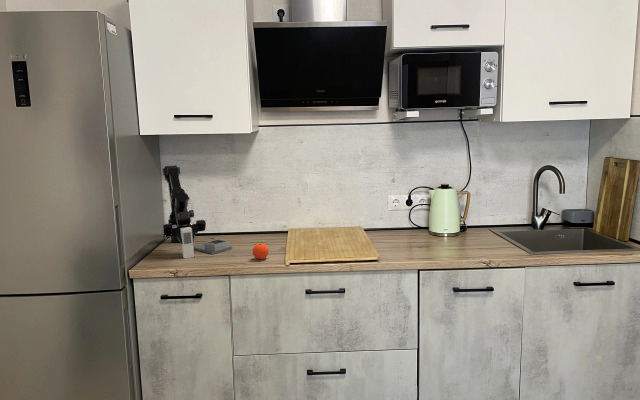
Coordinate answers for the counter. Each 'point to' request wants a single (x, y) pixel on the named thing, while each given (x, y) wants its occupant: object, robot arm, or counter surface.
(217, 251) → the dock
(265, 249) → the clementine
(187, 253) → the white handset
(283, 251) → the counter surface
